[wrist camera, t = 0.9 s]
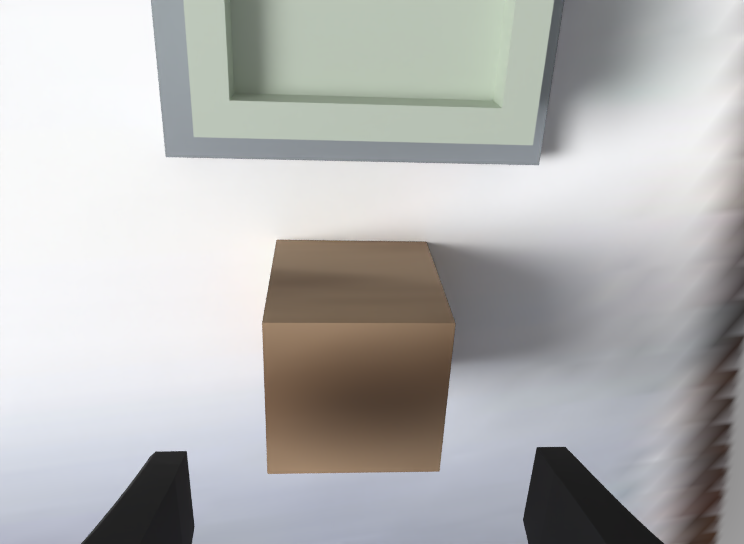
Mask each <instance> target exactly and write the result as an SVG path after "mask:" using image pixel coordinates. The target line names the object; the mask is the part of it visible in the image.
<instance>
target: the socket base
mask: <svg viewBox="0 0 744 544" xmlns="http://www.w3.org/2000/svg"><path fill="white" fill-rule="evenodd" d="M563 5H564V0H151V6H152V17H153V27H154V38H155V48H156V59H157V69H158V80H159V90H160V101H161V111H162V121H163V132H164V142H165V153H166V157H187V158H233V159H279V160H325V161H371V162H417V163H463V164H509V165H539V161H540V155H541V148H542V142H543V135H544V129H545V122H546V116H547V109H548V103H549V96H550V89H551V83H552V76H553V70H554V63H555V57H556V50H557V44H558V37H559V31H560V24H561V18H562V11H563Z"/></svg>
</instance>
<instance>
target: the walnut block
mask: <svg viewBox="0 0 744 544" xmlns="http://www.w3.org/2000/svg"><path fill="white" fill-rule="evenodd" d="M455 324H456V323H455V320H454V318H453V315H452V312H451V309H450V306H449V304H448V301H447V298H446V295H445V292H444V290H443V287H442V284H441V281H440V278H439V276H438V273H437V270H436V267H435V264H434V262H433V259H432V256H431V253H430V250H429V248H428V245H427V242H405V241H326V240H276V246H275V252H274V258H273V263H272V269H271V275H270V281H269V286H268V292H267V298H266V304H265V310H264V315H263V321H262V330H263V359H264V387H265V415H266V444H267V472H268V474H288V473H361V472H434V471H439V470H440V461H441V452H442V443H443V434H444V424H445V415H446V406H447V397H448V388H449V379H450V370H451V360H452V351H453V342H454V333H455Z"/></svg>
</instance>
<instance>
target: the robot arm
mask: <svg viewBox="0 0 744 544" xmlns="http://www.w3.org/2000/svg"><path fill="white" fill-rule="evenodd" d="M523 522H524V526H525V530H526V535H527V539H528V544H664V543H663V542H662V541H660V540H659V539H658V538H657V537H656V536H655V535H654V534H653V533H651V532H650V531H649V530H648V529H647V528H646V527H645V526H644V525H643V524H642V523H641V522H640V521H639V520H637V519H636V518H635V517H634V516H633V515H632V514H631V513H630V512H629V511H628V510H627V509H626V508H625V507H624V506H623V505H622V504H621V503H620V502H619V501H618V500H617V499H616V498H615V497H614V496H613V495H612V494H611V493H610V492H609V491H608V490H607V489H606V488H605V487H604V486H603V485H602V484H601V483H600V482H599V481H598V480H597V479H596V478H595V477H594V476H593V475H592V474H591V473H590V472H589V471H588V470H587V469H586V468H585V467H584V466H583V464H582V463H581V462H580V461H579V460H578V459H577V458H576V457H575V456H574V455H573V454H572V453H571V452H570V451H569V450H568V449H567V448H566V447H537V449H536V454H535V460H534V465H533V470H532V475H531V481H530V486H529V491H528V497H527V502H526V507H525V512H524V518H523ZM193 532H194V518H193V509H192V499H191V489H190V480H189V470H188V460H187V451H171V452H155V453H154V454H153V455H151V456H150V458H149V459H148V461H147V462H146V463H145V465H144V466H143V467H142V469H141V470H140V472H139V473H138V474H137V476H136V477H135V478H134V480H133V481H132V482H131V484H130V485H129V486H128V488H127V489H126V490H125V491H124V493H123V494H122V495H121V497H120V498H119V499H118V500H117V502H116V503H115V504H114V505H113V507H112V508H111V509H110V510H109V511H108V513H107V514H106V515H105V516H104V517H103V519H102V520H101V521H100V522H99V524H98V525H97V526H96V527H95V528H94V530H93V531H92V532H91V533H90V534H89V535H88V537H87V538H86V539H85V540H84V541H83V542H82V543H81V544H192V538H193Z"/></svg>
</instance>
